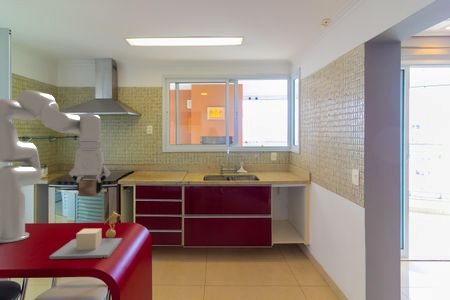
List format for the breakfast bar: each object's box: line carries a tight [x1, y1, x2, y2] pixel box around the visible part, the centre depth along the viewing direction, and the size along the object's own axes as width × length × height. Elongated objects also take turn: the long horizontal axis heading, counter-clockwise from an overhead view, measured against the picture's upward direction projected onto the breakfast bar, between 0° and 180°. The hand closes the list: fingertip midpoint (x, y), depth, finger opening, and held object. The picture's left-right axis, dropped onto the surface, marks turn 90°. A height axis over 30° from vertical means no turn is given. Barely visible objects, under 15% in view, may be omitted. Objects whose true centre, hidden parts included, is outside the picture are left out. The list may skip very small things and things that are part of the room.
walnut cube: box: [78, 178, 101, 197], centre depth 114 cm, size 6×6×6 cm
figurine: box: [104, 210, 122, 238], centre depth 127 cm, size 8×6×12 cm
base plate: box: [49, 227, 123, 260], centre depth 114 cm, size 20×20×7 cm
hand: (89, 192), depth 114 cm, fingers closed on walnut cube, 6 cm apart
